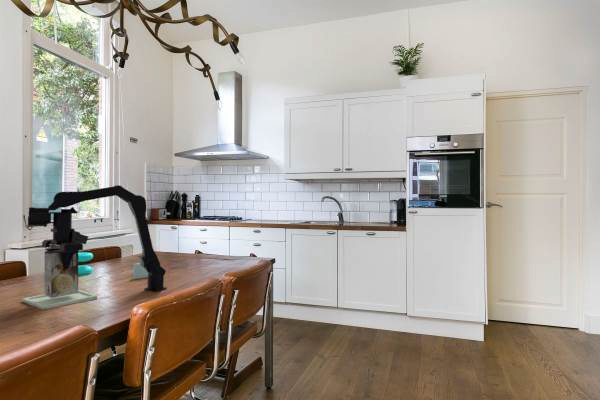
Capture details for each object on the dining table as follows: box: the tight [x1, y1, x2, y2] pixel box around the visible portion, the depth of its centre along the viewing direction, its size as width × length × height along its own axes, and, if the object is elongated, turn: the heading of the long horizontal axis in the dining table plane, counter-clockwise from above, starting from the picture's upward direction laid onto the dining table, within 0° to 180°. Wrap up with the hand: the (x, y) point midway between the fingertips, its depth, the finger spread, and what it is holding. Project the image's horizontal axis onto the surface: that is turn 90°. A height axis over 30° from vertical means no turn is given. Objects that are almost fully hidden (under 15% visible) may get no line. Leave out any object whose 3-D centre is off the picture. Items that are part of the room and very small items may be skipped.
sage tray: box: [22, 289, 98, 311], centre depth 135 cm, size 16×18×1 cm
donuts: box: [78, 252, 94, 276], centre depth 180 cm, size 10×10×10 cm
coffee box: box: [43, 250, 79, 298], centre depth 135 cm, size 9×6×16 cm
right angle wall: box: [132, 262, 149, 280], centre depth 180 cm, size 12×12×8 cm
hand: (61, 268), depth 135 cm, fingers closed on coffee box, 6 cm apart
